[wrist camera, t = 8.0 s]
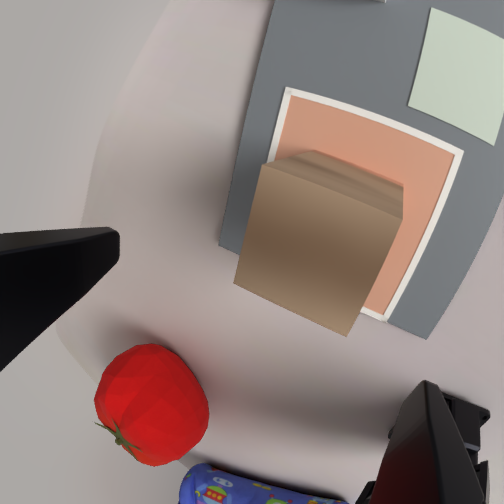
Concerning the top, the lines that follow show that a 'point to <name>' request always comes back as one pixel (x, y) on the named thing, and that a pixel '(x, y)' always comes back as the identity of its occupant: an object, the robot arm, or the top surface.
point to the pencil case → (237, 490)
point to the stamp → (319, 236)
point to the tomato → (152, 404)
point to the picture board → (388, 129)
